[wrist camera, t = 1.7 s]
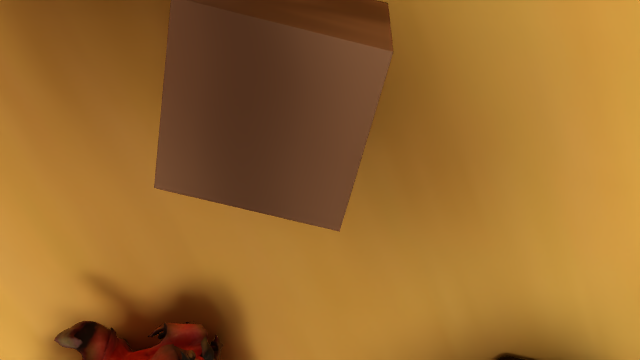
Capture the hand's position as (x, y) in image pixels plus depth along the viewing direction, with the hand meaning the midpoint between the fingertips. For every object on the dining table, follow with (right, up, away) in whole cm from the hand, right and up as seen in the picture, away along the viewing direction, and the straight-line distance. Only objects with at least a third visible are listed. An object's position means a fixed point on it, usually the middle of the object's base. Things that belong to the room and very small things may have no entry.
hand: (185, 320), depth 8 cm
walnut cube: (+1, +6, +10) cm, 12 cm away
